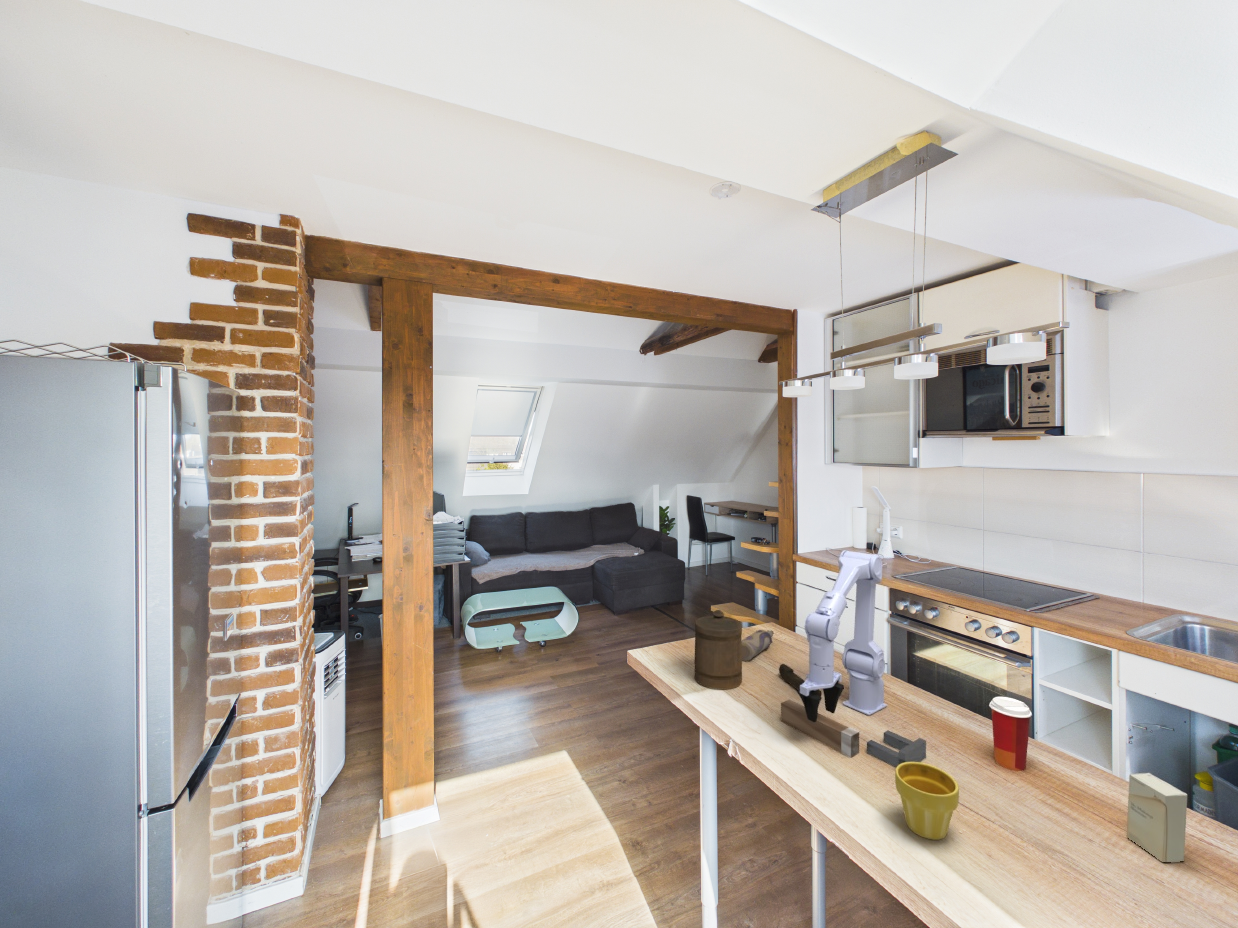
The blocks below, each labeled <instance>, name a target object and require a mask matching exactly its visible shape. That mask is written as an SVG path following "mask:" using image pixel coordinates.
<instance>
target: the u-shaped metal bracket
mask: <svg viewBox="0 0 1238 928" xmlns="http://www.w3.org/2000/svg"><path fill="white" fill-rule="evenodd" d="M884 744H886V745H887V746H890V747H892V748H890V747H887V746H885V745H884ZM893 748H894V749H896V750H898V751H896V750H894V749H893ZM866 753H867V754H869V755H870V756H873V757H874V758H876V759H879V760H880V761H883V762H884V763H886V764H888V765H890V766H893V767H895V768H896V767H897V766H898V765H899V764H901V763H905V762H920V763H921V762H922V761H923V760H925V759H926V758H927V740H926V739H923V738H920V737H919V738H917V739H915V740H914V741H913V740H911V739H908V738H906V737H905V736H902V735H900V734H898V733H895V732H893V731H890V730H886V731H884V732H883V744H881V743H879V742H878V741H875V740H873V739H871V740H868V741H866Z"/></svg>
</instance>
